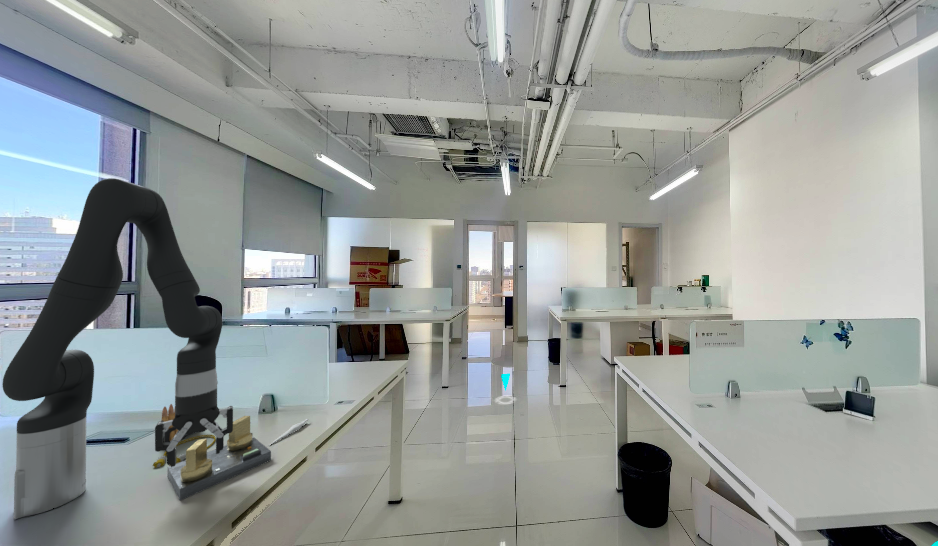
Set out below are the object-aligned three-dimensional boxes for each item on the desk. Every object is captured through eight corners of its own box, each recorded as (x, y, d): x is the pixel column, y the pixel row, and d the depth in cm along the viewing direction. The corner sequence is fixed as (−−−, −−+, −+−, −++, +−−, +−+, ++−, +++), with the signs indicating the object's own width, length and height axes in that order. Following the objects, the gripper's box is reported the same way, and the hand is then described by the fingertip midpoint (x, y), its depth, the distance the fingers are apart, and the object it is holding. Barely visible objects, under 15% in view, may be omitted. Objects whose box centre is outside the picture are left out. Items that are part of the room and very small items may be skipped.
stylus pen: (305, 422, 103) (304, 416, 103) (311, 423, 102) (311, 417, 102) (265, 448, 88) (264, 442, 88) (272, 449, 88) (272, 443, 88)
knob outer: (240, 451, 81) (240, 425, 81) (221, 450, 81) (221, 424, 82) (259, 438, 87) (259, 414, 87) (242, 437, 88) (242, 413, 88)
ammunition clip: (163, 448, 88) (164, 407, 88) (158, 448, 88) (158, 407, 88) (199, 430, 98) (199, 394, 99) (194, 430, 99) (194, 393, 99)
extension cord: (133, 467, 80) (133, 459, 80) (198, 436, 95) (198, 430, 95) (168, 472, 77) (168, 464, 77) (228, 440, 93) (228, 433, 93)
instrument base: (179, 500, 66) (179, 484, 66) (167, 476, 75) (167, 462, 75) (271, 460, 81) (270, 447, 81) (252, 444, 89) (252, 432, 89)
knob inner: (204, 478, 70) (204, 448, 70) (174, 484, 68) (174, 453, 68) (218, 462, 76) (218, 434, 76) (191, 467, 74) (191, 438, 74)
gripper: (150, 402, 64) (150, 479, 64) (234, 386, 73) (234, 454, 73) (157, 392, 70) (157, 463, 70) (234, 379, 79) (234, 441, 79)
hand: (196, 458), depth 71 cm, fingers open, 7 cm apart
